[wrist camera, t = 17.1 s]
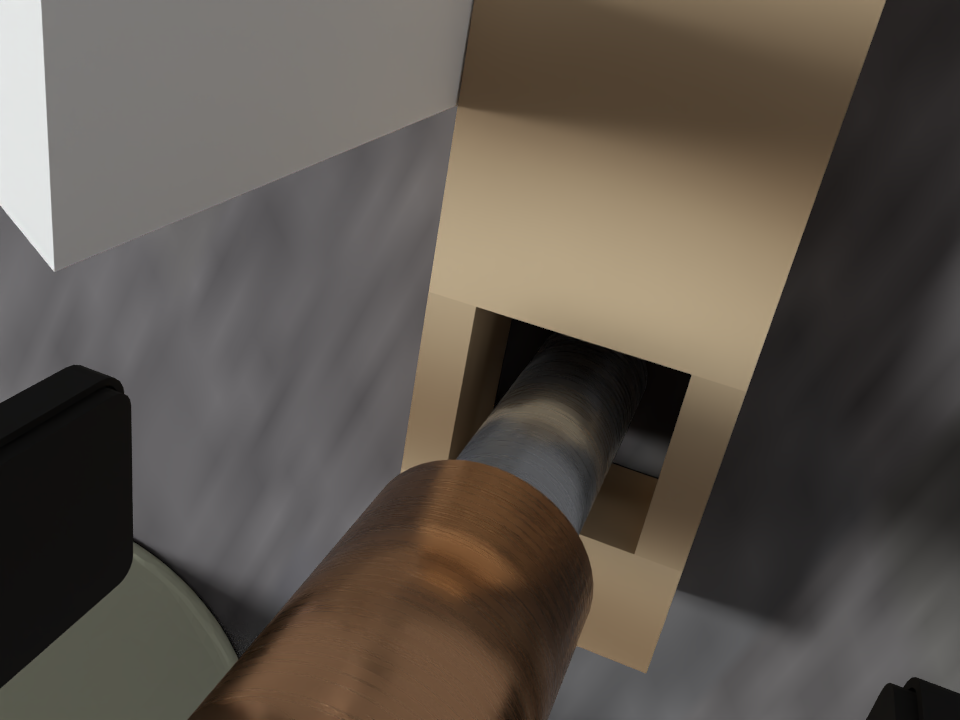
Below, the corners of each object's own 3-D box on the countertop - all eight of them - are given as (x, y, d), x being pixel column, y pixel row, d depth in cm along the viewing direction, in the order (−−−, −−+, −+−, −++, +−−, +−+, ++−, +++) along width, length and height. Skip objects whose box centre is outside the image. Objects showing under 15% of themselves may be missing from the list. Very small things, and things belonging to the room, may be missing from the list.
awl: (530, 271, 16) (172, 644, 8) (696, 322, 15) (506, 794, 7) (500, 414, 18) (168, 864, 9) (651, 466, 17) (445, 1007, 8)
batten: (584, -317, 12) (531, -369, 10) (969, -265, 11) (996, -312, 9) (435, 501, 19) (385, 569, 17) (669, 589, 18) (646, 673, 16)
